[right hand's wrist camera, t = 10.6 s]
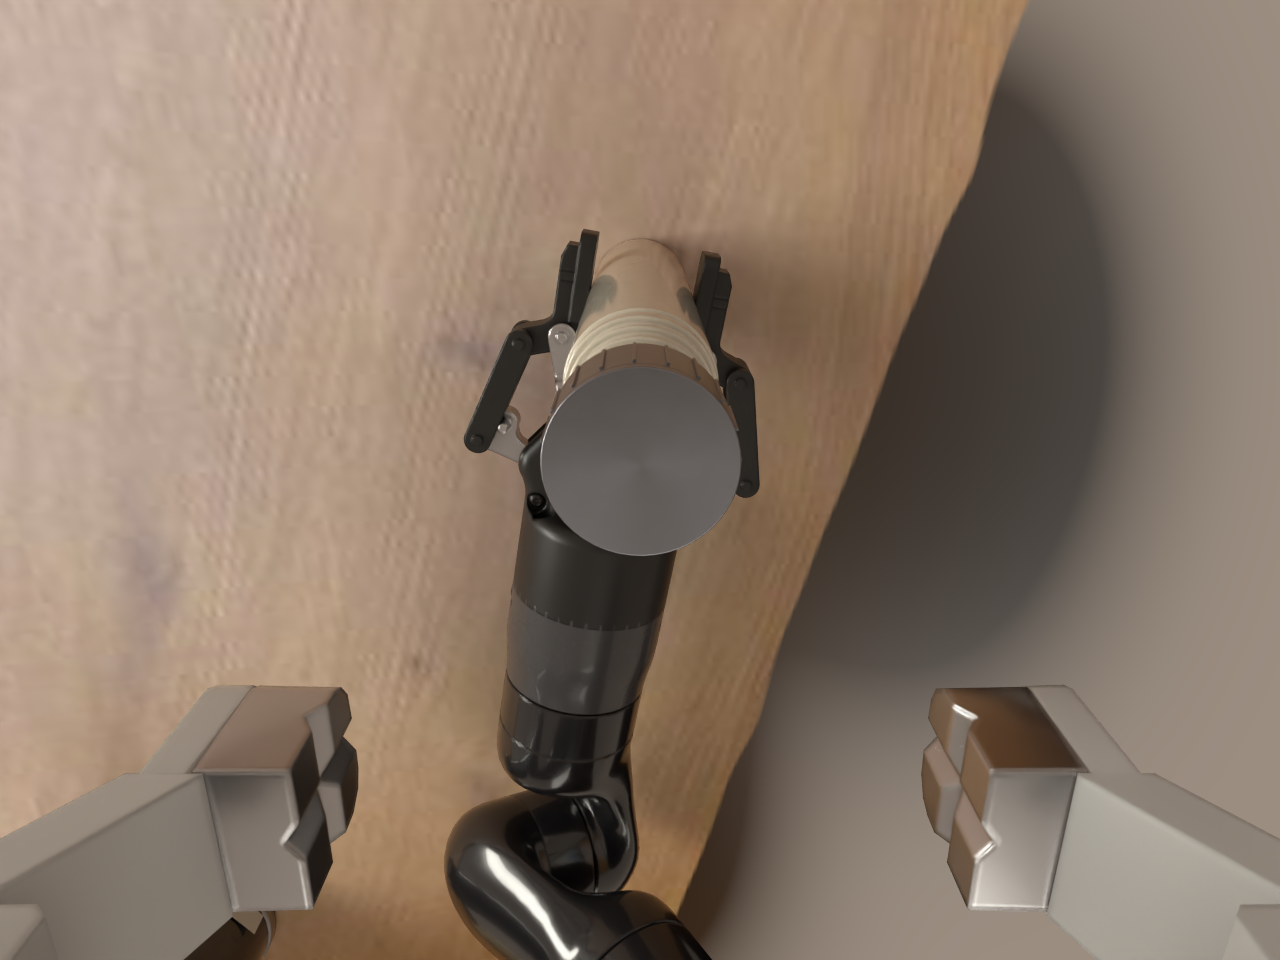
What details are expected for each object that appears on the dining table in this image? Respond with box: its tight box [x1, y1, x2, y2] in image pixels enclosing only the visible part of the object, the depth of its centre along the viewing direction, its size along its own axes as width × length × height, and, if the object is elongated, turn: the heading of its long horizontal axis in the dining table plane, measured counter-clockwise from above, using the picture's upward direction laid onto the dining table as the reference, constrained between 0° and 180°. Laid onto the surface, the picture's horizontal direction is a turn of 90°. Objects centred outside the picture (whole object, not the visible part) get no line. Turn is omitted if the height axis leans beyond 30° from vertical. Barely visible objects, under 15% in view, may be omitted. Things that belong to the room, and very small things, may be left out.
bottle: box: [563, 239, 719, 385], centre depth 32 cm, size 5×5×26 cm
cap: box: [540, 342, 742, 556], centre depth 20 cm, size 4×4×2 cm
